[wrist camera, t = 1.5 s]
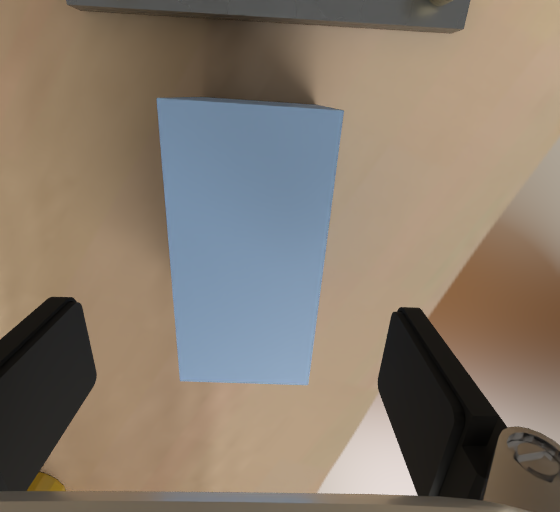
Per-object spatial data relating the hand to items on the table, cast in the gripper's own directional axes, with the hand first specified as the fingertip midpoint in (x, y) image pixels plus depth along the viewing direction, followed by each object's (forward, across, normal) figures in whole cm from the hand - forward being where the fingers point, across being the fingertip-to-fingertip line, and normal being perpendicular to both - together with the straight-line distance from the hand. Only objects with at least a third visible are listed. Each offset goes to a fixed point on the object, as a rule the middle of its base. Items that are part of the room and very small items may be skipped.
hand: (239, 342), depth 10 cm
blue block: (+12, 0, -1) cm, 12 cm away
